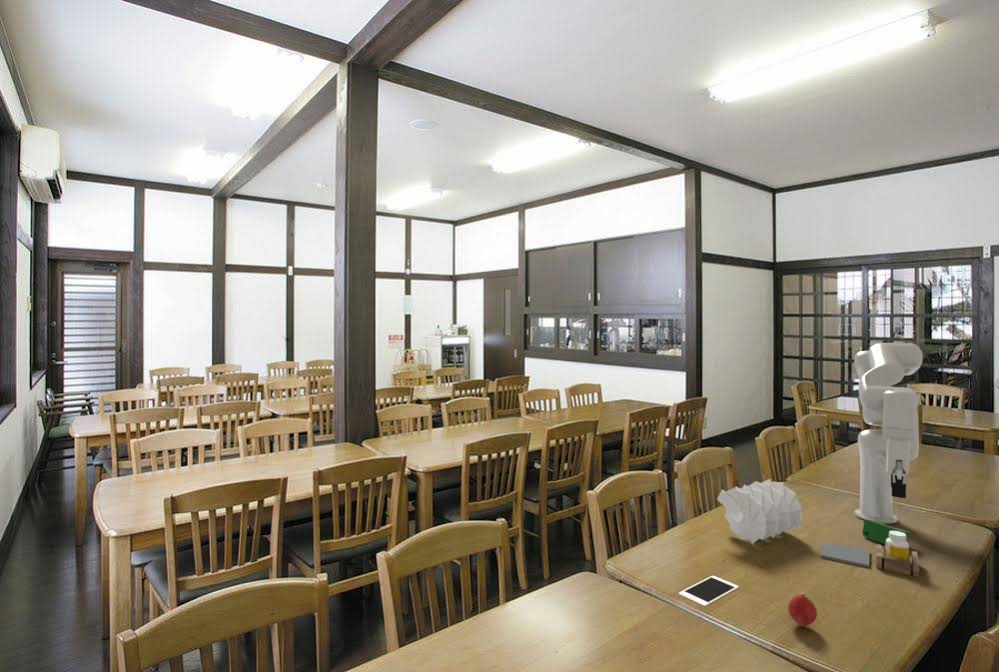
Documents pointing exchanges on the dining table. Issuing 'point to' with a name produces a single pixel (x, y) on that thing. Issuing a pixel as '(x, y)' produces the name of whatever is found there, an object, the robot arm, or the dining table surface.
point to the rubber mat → (845, 554)
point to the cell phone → (708, 590)
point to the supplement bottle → (897, 546)
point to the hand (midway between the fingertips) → (898, 492)
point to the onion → (802, 610)
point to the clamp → (879, 531)
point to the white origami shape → (761, 510)
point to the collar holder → (897, 563)
